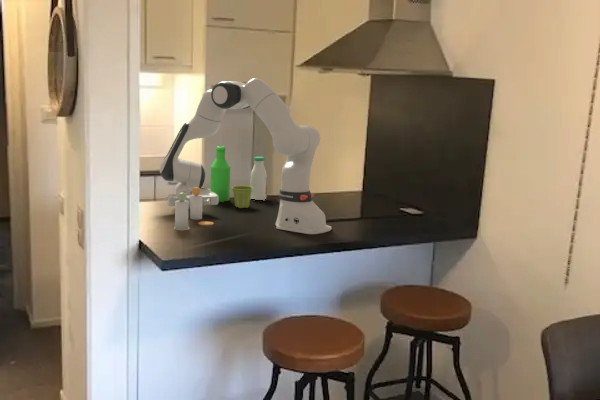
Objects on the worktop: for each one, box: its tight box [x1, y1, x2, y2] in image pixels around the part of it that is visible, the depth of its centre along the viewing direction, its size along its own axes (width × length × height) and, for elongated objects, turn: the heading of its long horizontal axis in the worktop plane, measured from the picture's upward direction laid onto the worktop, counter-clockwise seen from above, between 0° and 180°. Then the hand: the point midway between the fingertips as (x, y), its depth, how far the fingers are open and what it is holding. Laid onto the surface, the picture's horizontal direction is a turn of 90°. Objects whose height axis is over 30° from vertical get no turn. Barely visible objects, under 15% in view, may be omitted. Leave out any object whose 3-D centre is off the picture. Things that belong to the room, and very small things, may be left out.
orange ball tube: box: [189, 187, 203, 221], centre depth 252 cm, size 5×5×13 cm
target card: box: [173, 221, 214, 231], centre depth 241 cm, size 10×20×1 cm, turn 141°
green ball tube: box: [174, 192, 189, 231], centre depth 235 cm, size 5×5×13 cm
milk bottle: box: [249, 156, 268, 201], centre depth 299 cm, size 8×8×20 cm
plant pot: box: [231, 185, 253, 209], centre depth 283 cm, size 9×9×9 cm
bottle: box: [209, 145, 231, 203], centre depth 292 cm, size 9×9×25 cm
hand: (196, 203), depth 252 cm, fingers open, 7 cm apart
